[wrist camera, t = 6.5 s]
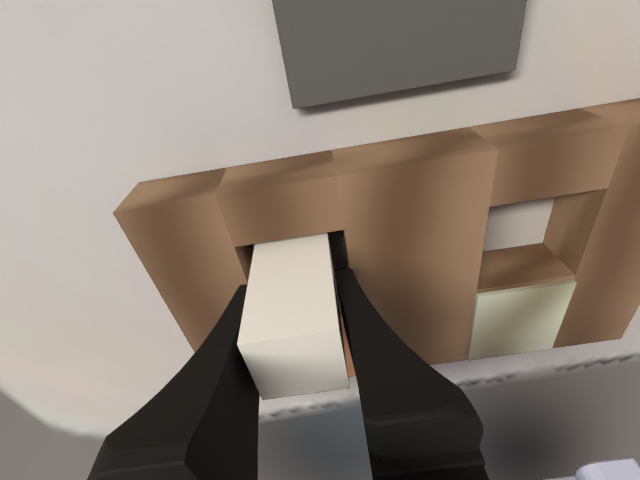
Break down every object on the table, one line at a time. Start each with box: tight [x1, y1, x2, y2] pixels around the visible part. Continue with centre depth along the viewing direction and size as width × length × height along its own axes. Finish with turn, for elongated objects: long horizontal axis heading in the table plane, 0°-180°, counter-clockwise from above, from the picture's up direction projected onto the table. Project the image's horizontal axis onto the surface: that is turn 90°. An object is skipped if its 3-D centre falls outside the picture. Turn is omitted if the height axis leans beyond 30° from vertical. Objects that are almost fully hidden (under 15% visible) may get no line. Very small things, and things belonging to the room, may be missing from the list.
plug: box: [237, 232, 350, 400], centre depth 13 cm, size 3×3×6 cm
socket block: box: [113, 98, 640, 377], centre depth 16 cm, size 22×12×3 cm, turn 99°
